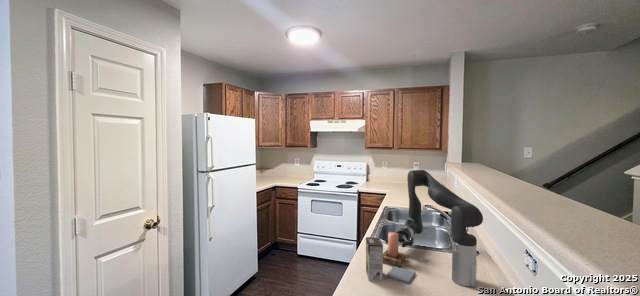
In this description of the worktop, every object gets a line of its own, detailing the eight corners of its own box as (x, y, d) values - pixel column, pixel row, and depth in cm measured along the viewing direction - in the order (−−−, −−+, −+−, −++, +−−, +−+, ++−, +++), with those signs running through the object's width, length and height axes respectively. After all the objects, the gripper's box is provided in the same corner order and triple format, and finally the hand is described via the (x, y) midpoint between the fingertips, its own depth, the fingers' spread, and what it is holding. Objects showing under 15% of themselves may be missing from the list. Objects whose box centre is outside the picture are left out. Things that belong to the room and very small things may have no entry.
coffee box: (365, 270, 129) (365, 236, 128) (379, 270, 129) (379, 237, 128) (368, 280, 120) (368, 244, 119) (383, 281, 120) (383, 244, 119)
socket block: (406, 260, 140) (406, 254, 140) (399, 267, 132) (399, 261, 132) (387, 255, 146) (387, 249, 146) (379, 262, 138) (379, 256, 138)
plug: (399, 260, 140) (399, 233, 139) (396, 264, 135) (396, 236, 135) (390, 258, 142) (390, 231, 142) (386, 261, 138) (386, 234, 138)
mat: (415, 274, 126) (415, 272, 126) (408, 283, 118) (408, 281, 118) (393, 268, 132) (393, 266, 131) (386, 277, 123) (386, 274, 123)
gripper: (392, 225, 157) (381, 233, 144) (418, 230, 149) (408, 239, 136) (392, 238, 158) (381, 247, 144) (417, 243, 149) (408, 254, 136)
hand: (394, 243), depth 140 cm, fingers open, 8 cm apart
